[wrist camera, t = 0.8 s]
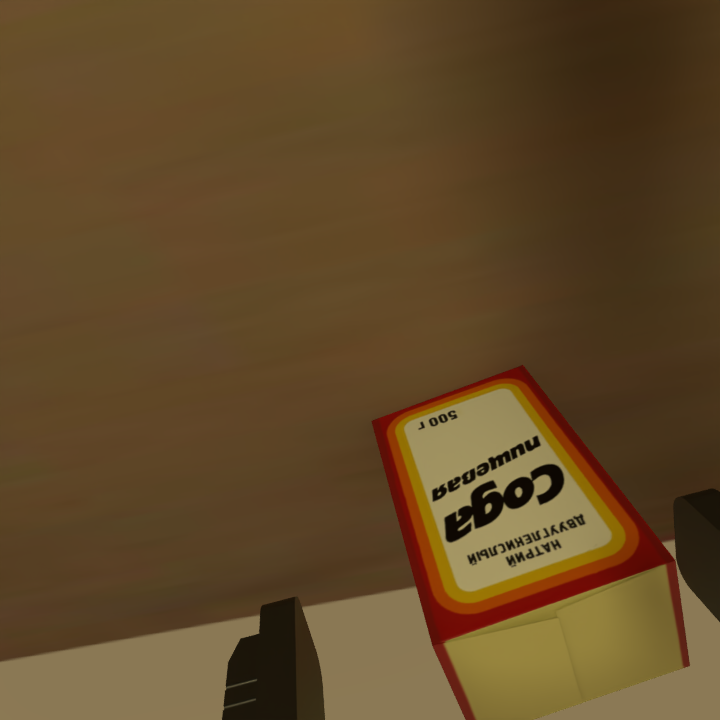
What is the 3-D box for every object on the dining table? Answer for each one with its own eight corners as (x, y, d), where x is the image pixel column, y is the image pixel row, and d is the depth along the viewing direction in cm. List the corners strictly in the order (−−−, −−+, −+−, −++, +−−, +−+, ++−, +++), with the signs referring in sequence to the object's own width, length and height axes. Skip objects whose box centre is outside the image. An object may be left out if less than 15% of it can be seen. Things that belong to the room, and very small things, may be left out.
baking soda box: (522, 365, 37) (681, 568, 23) (543, 449, 40) (695, 673, 26) (371, 420, 37) (434, 654, 23) (403, 499, 40) (477, 748, 26)
